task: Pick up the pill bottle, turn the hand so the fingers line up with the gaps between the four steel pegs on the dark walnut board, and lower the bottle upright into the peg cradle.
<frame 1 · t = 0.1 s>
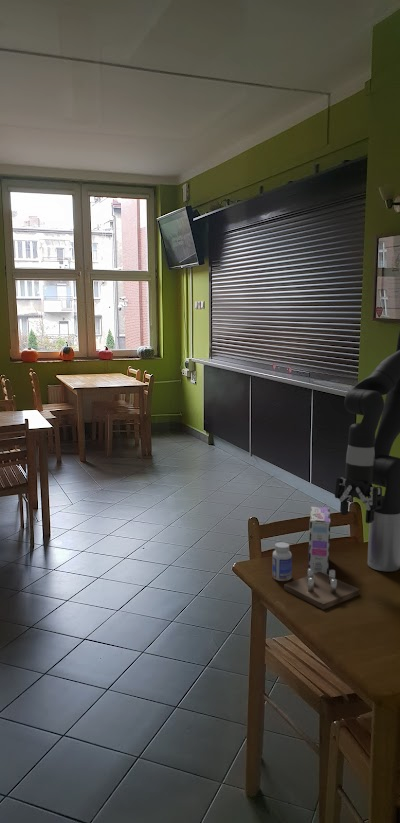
hand: (356, 518, 167), 17 cm above the table, tool pointing down, fingers open, 8 cm apart
candy box: (318, 567, 177), on the table
steel pegs: (321, 580, 160), on the peg board, point 3 cm above the table
pill bottle: (281, 578, 169), on the table
peg board: (321, 592, 160), on the table
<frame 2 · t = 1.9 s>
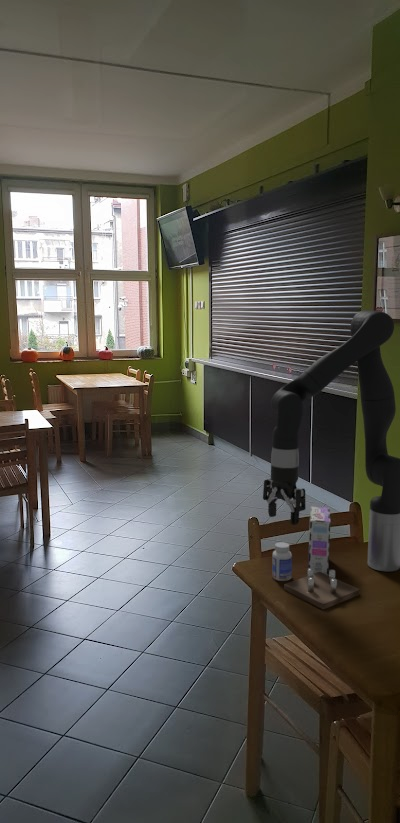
hand: (283, 520, 167), 17 cm above the table, tool pointing down, fingers open, 8 cm apart
nothing on the table moved.
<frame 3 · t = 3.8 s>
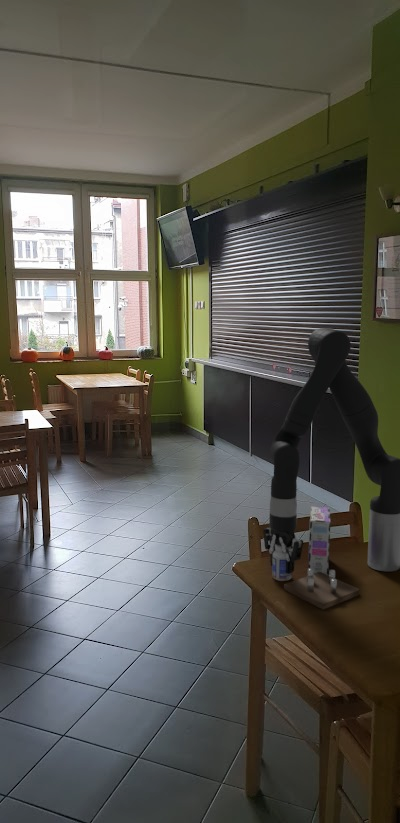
hand: (281, 569, 169), 3 cm above the table, tool pointing down, fingers closed on pill bottle, 5 cm apart
pill bottle: (281, 578, 169), on the table, touching gripper
everything else where it was.
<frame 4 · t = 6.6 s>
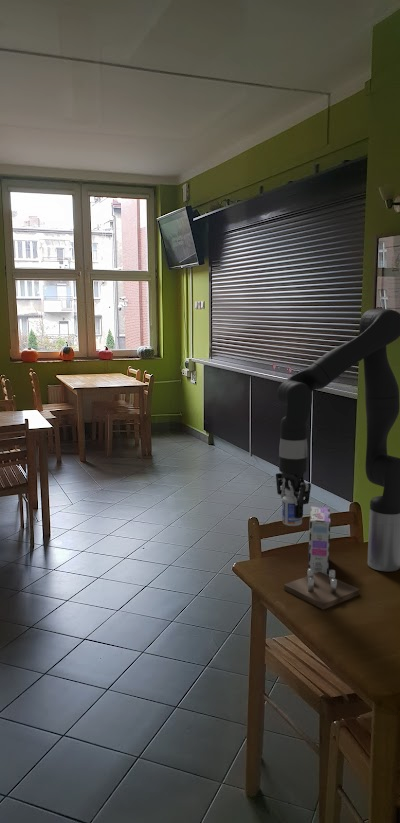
hand: (292, 514, 165), 19 cm above the table, tool pointing down, fingers closed on pill bottle, 5 cm apart
pill bottle: (292, 523, 165), point 16 cm above the table, touching gripper
everything else where it was.
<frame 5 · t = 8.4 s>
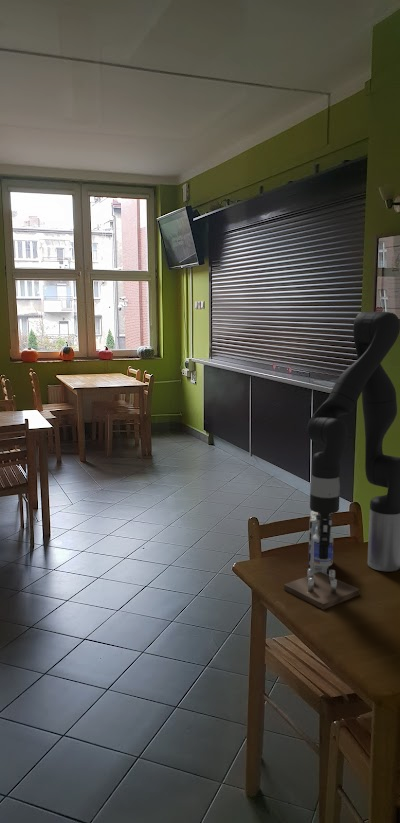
hand: (322, 553, 159), 11 cm above the table, tool pointing down, fingers closed on pill bottle, 5 cm apart
pill bottle: (322, 563, 159), point 8 cm above the table, touching gripper
everything else where it was.
when the fingers open (6 cm above the table, at t = 9.8 s): pill bottle drops 2 cm, resting on peg board.
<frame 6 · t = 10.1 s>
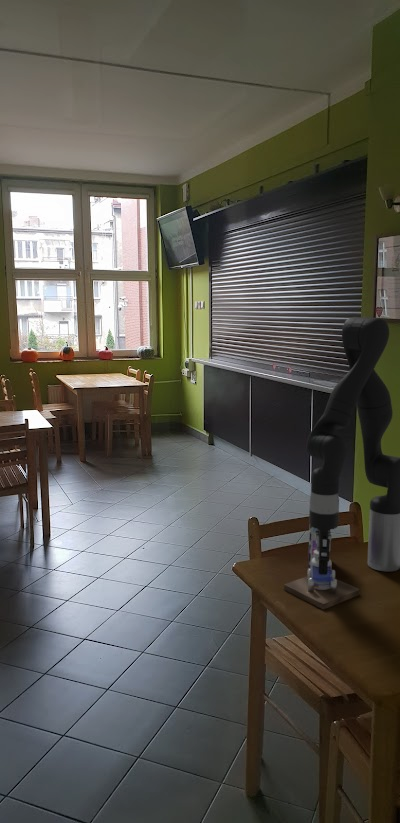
hand: (322, 567, 159), 7 cm above the table, tool pointing down, fingers open, 7 cm apart
pill bottle: (321, 587, 160), point 1 cm above the table, touching peg board
everything else where it was.
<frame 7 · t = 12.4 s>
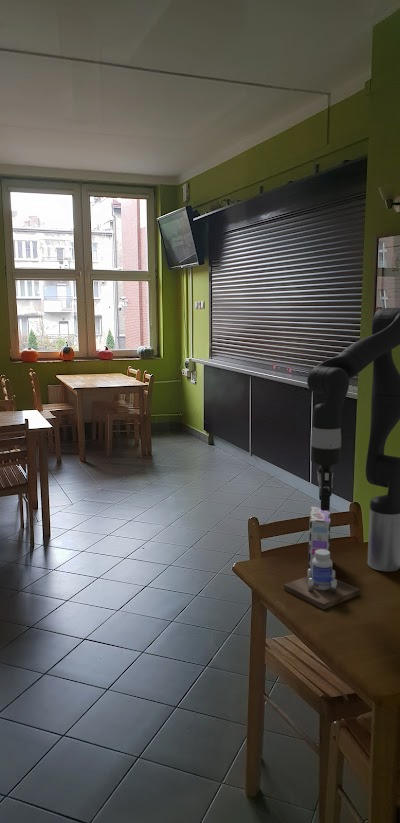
hand: (324, 505, 157), 24 cm above the table, tool pointing down, fingers open, 8 cm apart
nothing on the table moved.
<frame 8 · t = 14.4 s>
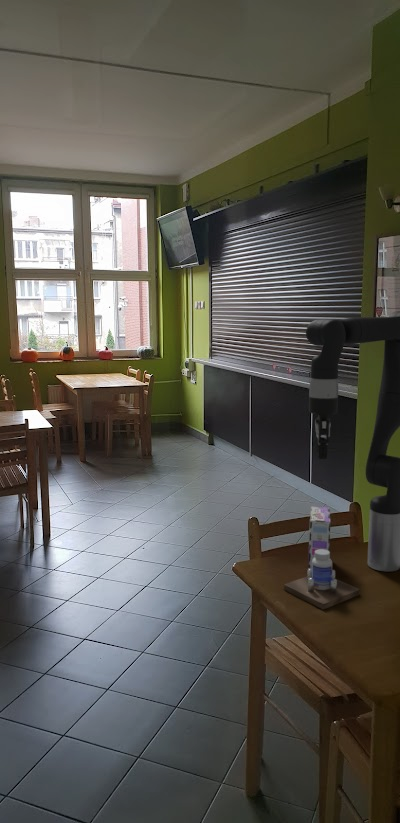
hand: (321, 455, 161), 36 cm above the table, tool pointing down, fingers open, 8 cm apart
nothing on the table moved.
at the end: pill bottle 0.2 cm off-centre on the peg board, point 1.3 cm above the peg board's base; pill bottle tilted 0°; the gripper is holding nothing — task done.
